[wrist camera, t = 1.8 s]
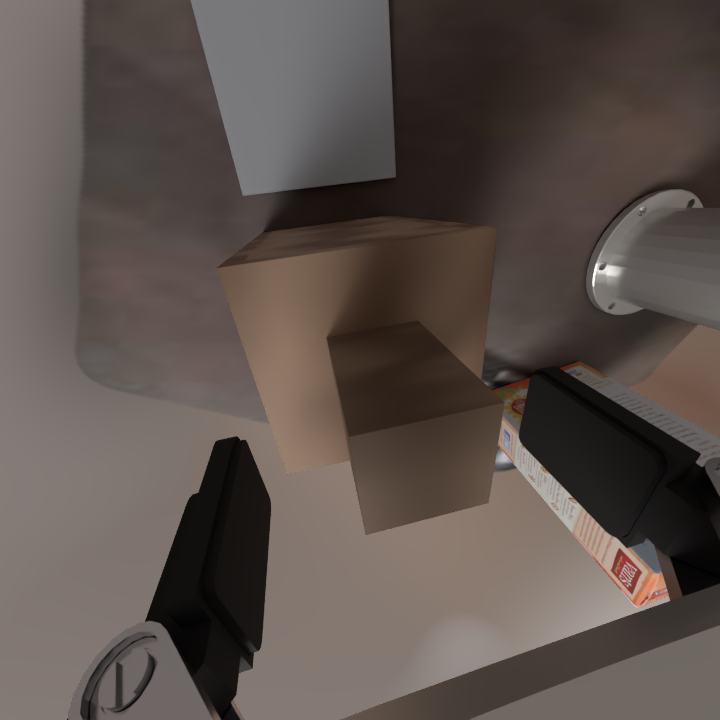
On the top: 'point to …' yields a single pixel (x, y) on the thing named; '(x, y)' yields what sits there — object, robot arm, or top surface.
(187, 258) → the top surface
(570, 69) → the top surface
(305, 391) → the walnut cover
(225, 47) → the slate mat
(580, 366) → the cracker box
